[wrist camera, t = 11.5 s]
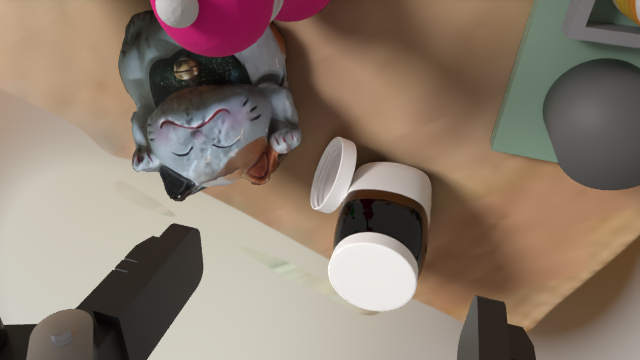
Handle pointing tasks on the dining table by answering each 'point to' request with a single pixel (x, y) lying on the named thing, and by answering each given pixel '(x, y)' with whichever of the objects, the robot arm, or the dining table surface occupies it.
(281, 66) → the lucky cat figurine
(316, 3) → the pepper mill
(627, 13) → the supplement bottle
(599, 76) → the desk organizer tray
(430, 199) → the spread jar
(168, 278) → the robot arm
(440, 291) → the dining table surface
